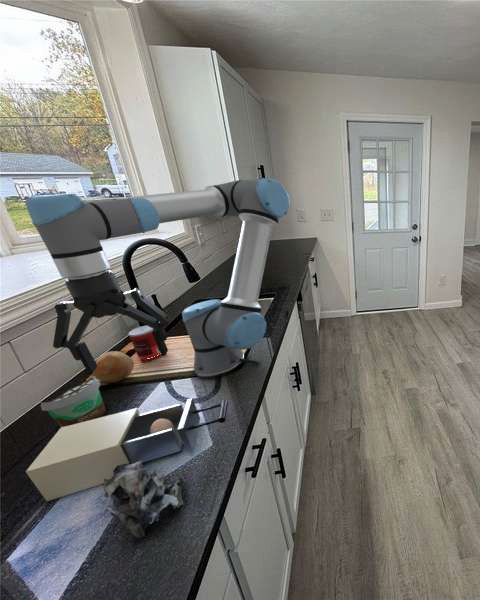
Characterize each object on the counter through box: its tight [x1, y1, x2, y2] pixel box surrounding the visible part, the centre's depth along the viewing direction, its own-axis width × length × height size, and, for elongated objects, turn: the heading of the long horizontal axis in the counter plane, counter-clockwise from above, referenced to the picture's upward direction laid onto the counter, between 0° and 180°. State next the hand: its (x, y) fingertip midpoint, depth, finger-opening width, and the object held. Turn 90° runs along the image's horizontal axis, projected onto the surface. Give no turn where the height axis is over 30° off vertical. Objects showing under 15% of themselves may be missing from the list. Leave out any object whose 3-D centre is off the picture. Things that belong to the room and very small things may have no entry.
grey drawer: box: [120, 397, 229, 465], centre depth 76 cm, size 21×11×7 cm, turn 113°
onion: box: [92, 350, 135, 384], centre depth 102 cm, size 10×10×10 cm
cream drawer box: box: [25, 407, 141, 502], centre depth 70 cm, size 15×13×9 cm
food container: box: [40, 375, 106, 428], centre depth 85 cm, size 12×6×10 cm, turn 168°
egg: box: [150, 419, 174, 434], centre depth 75 cm, size 4×4×6 cm
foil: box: [99, 460, 184, 539], centre depth 61 cm, size 12×11×15 cm
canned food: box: [128, 325, 162, 362], centre depth 115 cm, size 8×8×11 cm
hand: (130, 361), depth 72 cm, fingers open, 13 cm apart
